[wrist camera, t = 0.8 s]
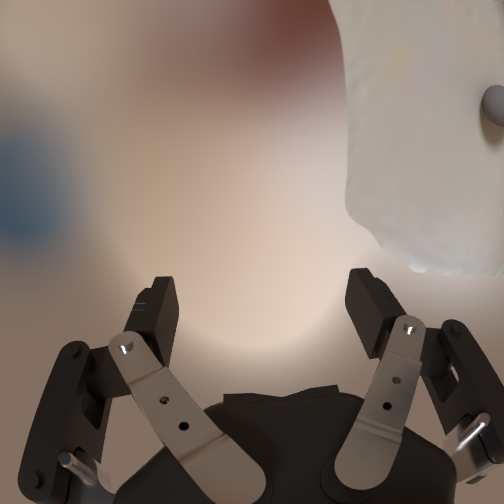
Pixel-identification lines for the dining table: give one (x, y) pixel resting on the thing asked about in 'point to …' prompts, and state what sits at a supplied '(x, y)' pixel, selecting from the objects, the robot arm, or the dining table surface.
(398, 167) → the dining table surface
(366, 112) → the dining table surface
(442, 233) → the dining table surface
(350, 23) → the dining table surface
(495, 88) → the grey ball
